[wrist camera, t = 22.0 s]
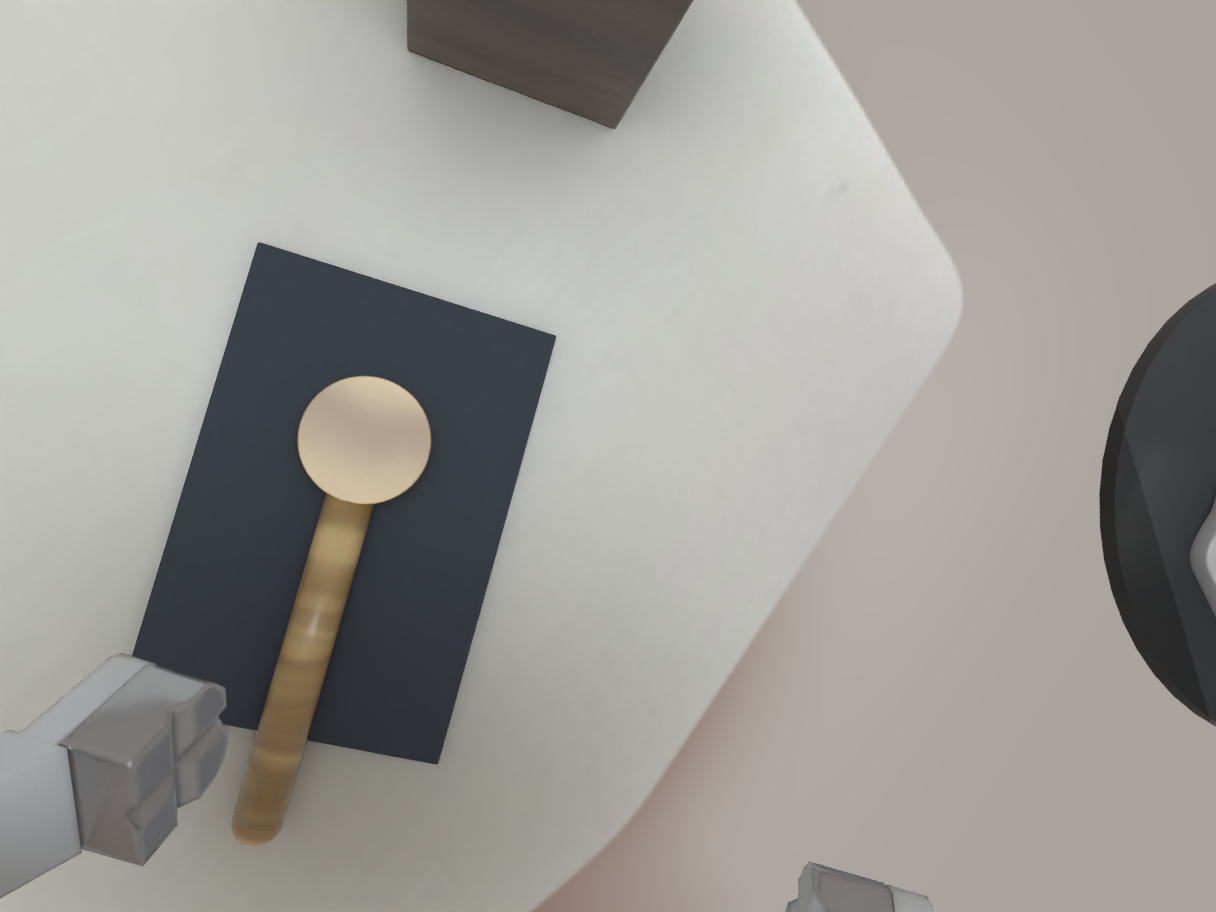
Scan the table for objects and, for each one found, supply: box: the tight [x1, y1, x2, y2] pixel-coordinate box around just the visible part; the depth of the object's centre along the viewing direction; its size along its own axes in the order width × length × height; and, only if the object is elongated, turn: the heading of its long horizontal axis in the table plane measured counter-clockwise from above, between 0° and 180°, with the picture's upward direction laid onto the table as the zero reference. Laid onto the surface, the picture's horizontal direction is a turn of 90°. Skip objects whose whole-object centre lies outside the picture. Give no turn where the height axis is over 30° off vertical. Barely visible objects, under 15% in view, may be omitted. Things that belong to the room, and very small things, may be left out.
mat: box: [132, 242, 556, 764], centre depth 32 cm, size 18×12×1 cm, turn 165°
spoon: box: [231, 376, 432, 847], centre depth 31 cm, size 18×5×2 cm, turn 165°
